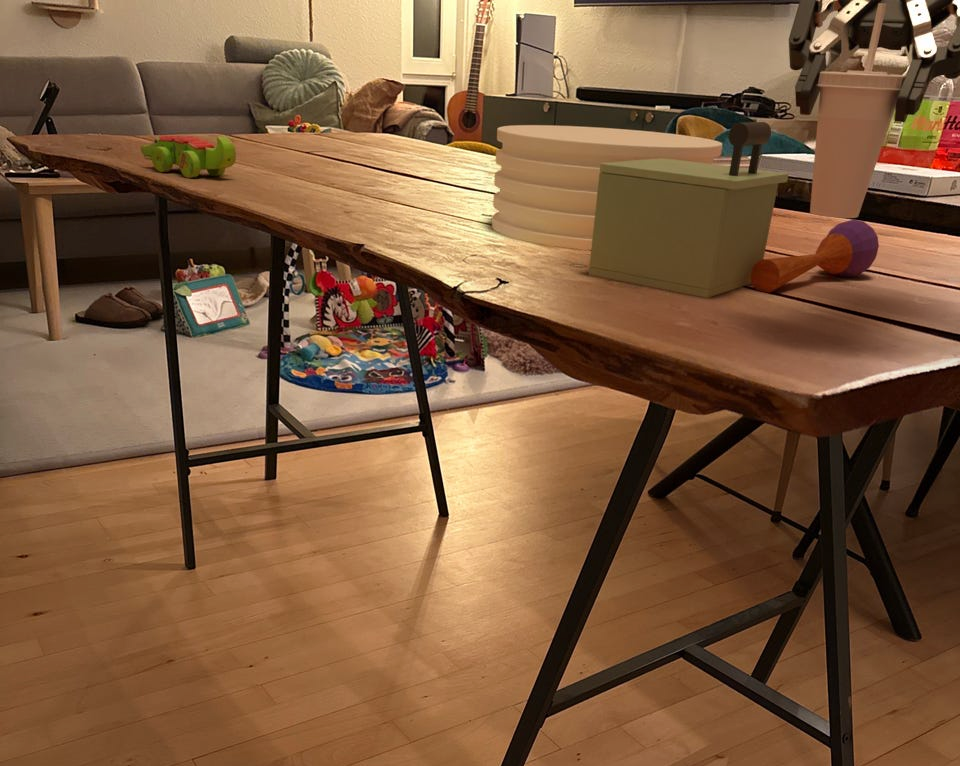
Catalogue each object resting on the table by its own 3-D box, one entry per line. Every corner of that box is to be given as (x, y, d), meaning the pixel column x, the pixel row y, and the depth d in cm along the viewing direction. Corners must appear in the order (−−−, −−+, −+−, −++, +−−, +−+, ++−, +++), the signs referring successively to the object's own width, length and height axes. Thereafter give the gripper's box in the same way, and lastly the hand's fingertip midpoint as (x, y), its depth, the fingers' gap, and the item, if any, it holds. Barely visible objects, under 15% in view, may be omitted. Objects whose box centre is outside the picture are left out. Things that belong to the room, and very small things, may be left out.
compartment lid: (787, 182, 98) (799, 123, 96) (734, 190, 89) (746, 125, 87) (659, 166, 106) (667, 111, 103) (599, 172, 97) (605, 112, 94)
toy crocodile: (135, 167, 159) (130, 126, 156) (170, 166, 163) (166, 125, 160) (209, 182, 148) (205, 138, 145) (244, 180, 153) (241, 137, 150)
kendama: (739, 246, 99) (839, 217, 110) (739, 306, 102) (837, 272, 113) (791, 244, 95) (890, 214, 106) (790, 307, 98) (886, 272, 109)
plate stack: (703, 226, 137) (718, 135, 131) (709, 261, 113) (727, 152, 107) (508, 210, 140) (514, 121, 134) (474, 240, 116) (479, 134, 110)
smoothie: (813, 219, 73) (858, -1, 66) (779, 207, 79) (817, 3, 72) (891, 221, 74) (944, 4, 67) (851, 209, 80) (896, 7, 72)
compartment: (759, 282, 104) (778, 181, 99) (707, 299, 95) (725, 189, 90) (646, 261, 111) (659, 166, 106) (588, 275, 102) (599, 172, 97)
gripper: (828, -114, 74) (753, 62, 71) (1034, -119, 68) (960, 73, 65) (828, -24, 81) (759, 140, 78) (1015, -22, 75) (948, 156, 72)
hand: (851, 109), depth 72 cm, fingers closed on smoothie, 6 cm apart
